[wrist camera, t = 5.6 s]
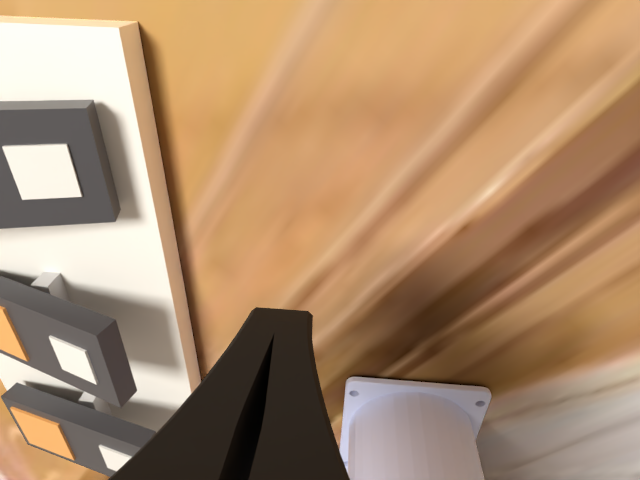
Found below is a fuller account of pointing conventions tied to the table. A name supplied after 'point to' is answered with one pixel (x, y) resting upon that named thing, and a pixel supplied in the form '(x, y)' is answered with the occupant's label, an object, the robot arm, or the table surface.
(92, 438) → the rocker far
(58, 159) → the rocker near
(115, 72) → the switch strip
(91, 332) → the rocker middle
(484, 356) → the table surface
